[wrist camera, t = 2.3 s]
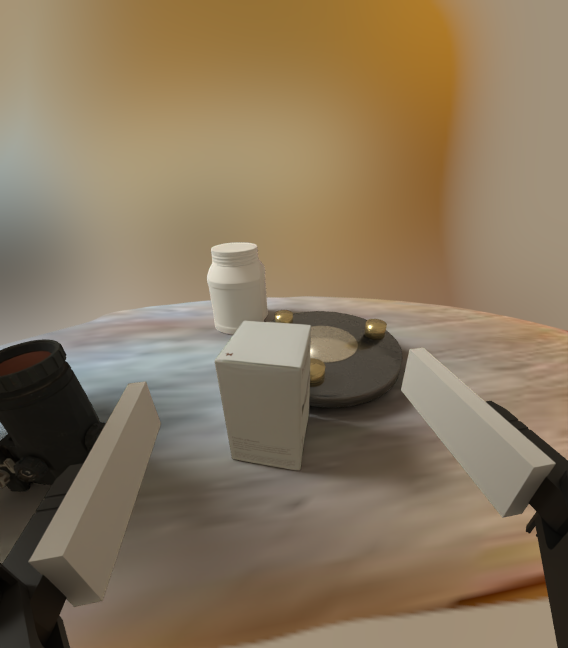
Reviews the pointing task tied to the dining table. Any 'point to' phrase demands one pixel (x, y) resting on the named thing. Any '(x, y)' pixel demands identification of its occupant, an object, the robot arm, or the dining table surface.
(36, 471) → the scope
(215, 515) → the dining table surface
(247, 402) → the supplement box
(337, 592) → the dining table surface
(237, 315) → the jar
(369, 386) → the base
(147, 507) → the dining table surface
